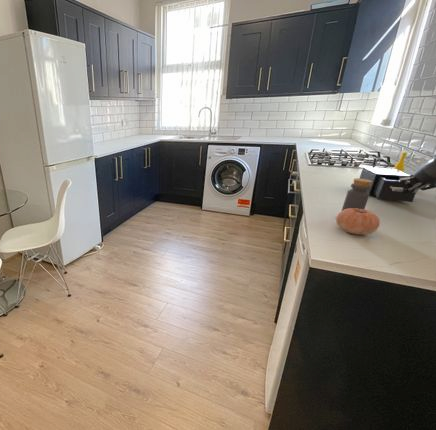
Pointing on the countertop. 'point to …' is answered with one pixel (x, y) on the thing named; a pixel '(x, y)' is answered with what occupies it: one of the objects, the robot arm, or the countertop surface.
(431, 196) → the countertop surface
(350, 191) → the bottle
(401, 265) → the countertop surface
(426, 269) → the countertop surface
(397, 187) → the drawer
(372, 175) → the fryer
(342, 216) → the orange pumpkin
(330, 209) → the countertop surface
